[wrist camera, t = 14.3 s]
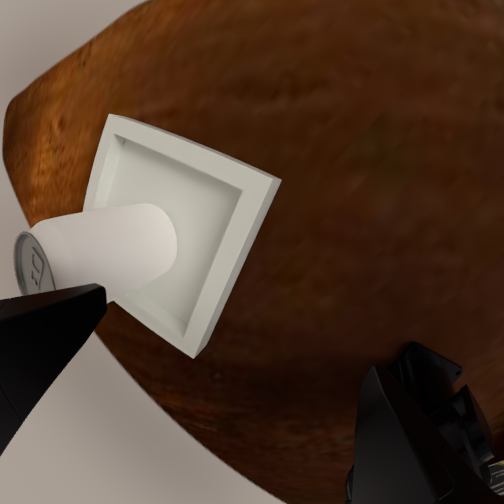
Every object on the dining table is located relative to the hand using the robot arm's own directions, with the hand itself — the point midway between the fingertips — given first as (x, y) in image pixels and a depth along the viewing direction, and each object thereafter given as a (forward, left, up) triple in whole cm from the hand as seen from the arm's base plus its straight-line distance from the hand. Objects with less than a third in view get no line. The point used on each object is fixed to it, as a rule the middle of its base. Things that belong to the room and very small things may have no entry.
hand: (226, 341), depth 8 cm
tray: (+11, +4, -13) cm, 18 cm away
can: (+12, +5, -13) cm, 18 cm away
